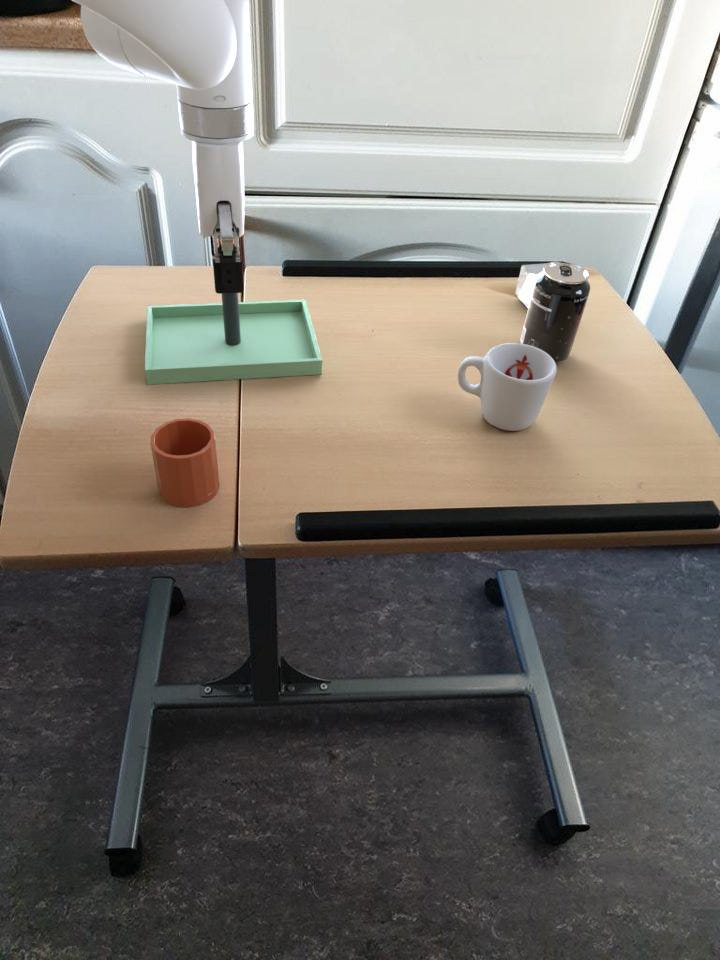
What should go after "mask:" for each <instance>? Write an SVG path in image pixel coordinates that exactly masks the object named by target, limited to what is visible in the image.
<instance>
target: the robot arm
mask: <svg viewBox="0 0 720 960" xmlns="http://www.w3.org/2000/svg"><path fill="white" fill-rule="evenodd" d="M71 1H72V2H74V3H76V4H78V5H80V23H81V27H82V30H83V33H84V36H85V38H86V40H87V41H88V43H89V45H90V46H91V48H92V49H93V51H95V52H96V53H97V54H98V55H99V57H101V58H102V59H103V60H105V61H106V62H108V63H109V64H111V65H113V66H115V67H118V68H120V69H122V70H125V71H129V72H132V73H135V74H139V75H142V76H145V77H148V78H153V79H156V80H157V79H158V80H161V81H164V82H166V83H170V84H173V85H176V95H177V96H176V97H177V106H178V116H179V125H180V134H181V135H182V136H183V137H184V138H185V139H187V140H190V141H191V156H192V158H191V159H192V171H193V181H194V182H193V183H194V192H195V201H196V202H195V203H196V212H197V222H198V232H199V236H201V237H202V238H203V239H206V238H207V237H209V238H210V239H209V241H210V252H211V256H212V257H214V258H212V269H213V280H214V291H215V293H216V294H220V295H222V294H224V293H238V294H241V293H243V292H244V275H243V273H244V271H243V258H242V257H241V253H240V240H239V238H241V237H242V236H243V235H244V234H245V167H244V166H245V165H244V164H245V163H244V159H245V158H244V142H247V141H248V140H250V139H252V137H254V136H255V135H254V134H255V130H254V104H253V102H254V101H253V80H252V79H253V75H252V47H251V45H252V44H251V17H250V0H71ZM233 239H234V244H233ZM218 240H221V244H218ZM219 255H220V256H219Z"/></svg>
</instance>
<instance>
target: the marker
mask: <svg viewBox="0 0 720 960" xmlns="http://www.w3.org/2000/svg"><path fill="white" fill-rule="evenodd" d="M218 244H221V240H218ZM233 244H234V239H233ZM219 256H220V255H219ZM239 302H240V301H239V293H224V294H221V303H222V306H223V319H224V332H225V342H226V344H228V345H231V346H235V345H238V344H240V342H241V335H240V318H239Z"/></svg>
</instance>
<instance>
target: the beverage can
mask: <svg viewBox="0 0 720 960" xmlns="http://www.w3.org/2000/svg"><path fill="white" fill-rule="evenodd" d="M547 263H548V264H546V265H545V266H544V269H543V272H541V273H540V274H538V275H537V277H536V280H535V283H534V287H533V291H532V295H531V299H530V303H529V307H528V308H527V311H526V315H525V319H524V323H523V327H522V331H521V335H520V339H519V343H521V344H526V345H530V346H534V347H536V348H538V349H541V350H542V351H544V352H546V353H547V354H548V355H550V356H551V357H552V359H553V360H554V361H555V363H556V364H558V363H562V362H564V361H566V360H567V359H569V357H570V355H571V352H572V350H573V347H574V343H575V341H576V338H577V333H578V330H579V328H580V324H581V321H582V318H583V315H584V311H585V308H586V305H587V302H588V299H589V295H590V291H591V284H590V282H589V277H590V273H589V272H588V271H587V269H586V268H585V267H582V266H581V265H579V264H575V263H573V262H568V261H561V260H560V261H559V260H558V261H552V262H547Z"/></svg>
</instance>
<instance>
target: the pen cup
mask: <svg viewBox="0 0 720 960" xmlns="http://www.w3.org/2000/svg"><path fill="white" fill-rule="evenodd" d="M150 448H151V449H150V450H151V454H152V455H151V456H152V461H153V466H154V471H155V476H156V481H157V487H158V491H159V495H160V496H161V498H162V499H163V500H164V501H165V502H167V503H168V504H170V505H172V506H175V507H178V508H193V507H197V506H201V505H203V504H206V503H207V502H209V501H210V500H212V499H214V497H215V496H216V495H217V493H218V492H219V490H220V473H219V464H218V455H217V445H216V436H215V431H214V429H213V428H212V426H211V425H210V424H208V423H207V422H204V421H202V420H200V419H195V418H190V417H183V418H174V419H171V420H169V421H165V422H164V423H161V425H159V426H157V427H155V428H154V430H153V432H152V433H151V435H150Z"/></svg>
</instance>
